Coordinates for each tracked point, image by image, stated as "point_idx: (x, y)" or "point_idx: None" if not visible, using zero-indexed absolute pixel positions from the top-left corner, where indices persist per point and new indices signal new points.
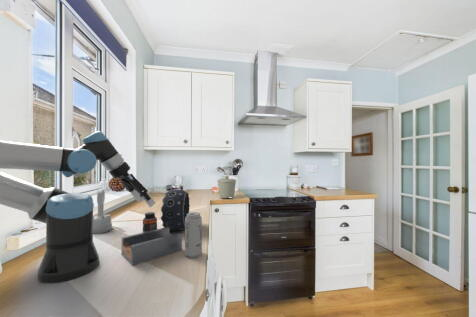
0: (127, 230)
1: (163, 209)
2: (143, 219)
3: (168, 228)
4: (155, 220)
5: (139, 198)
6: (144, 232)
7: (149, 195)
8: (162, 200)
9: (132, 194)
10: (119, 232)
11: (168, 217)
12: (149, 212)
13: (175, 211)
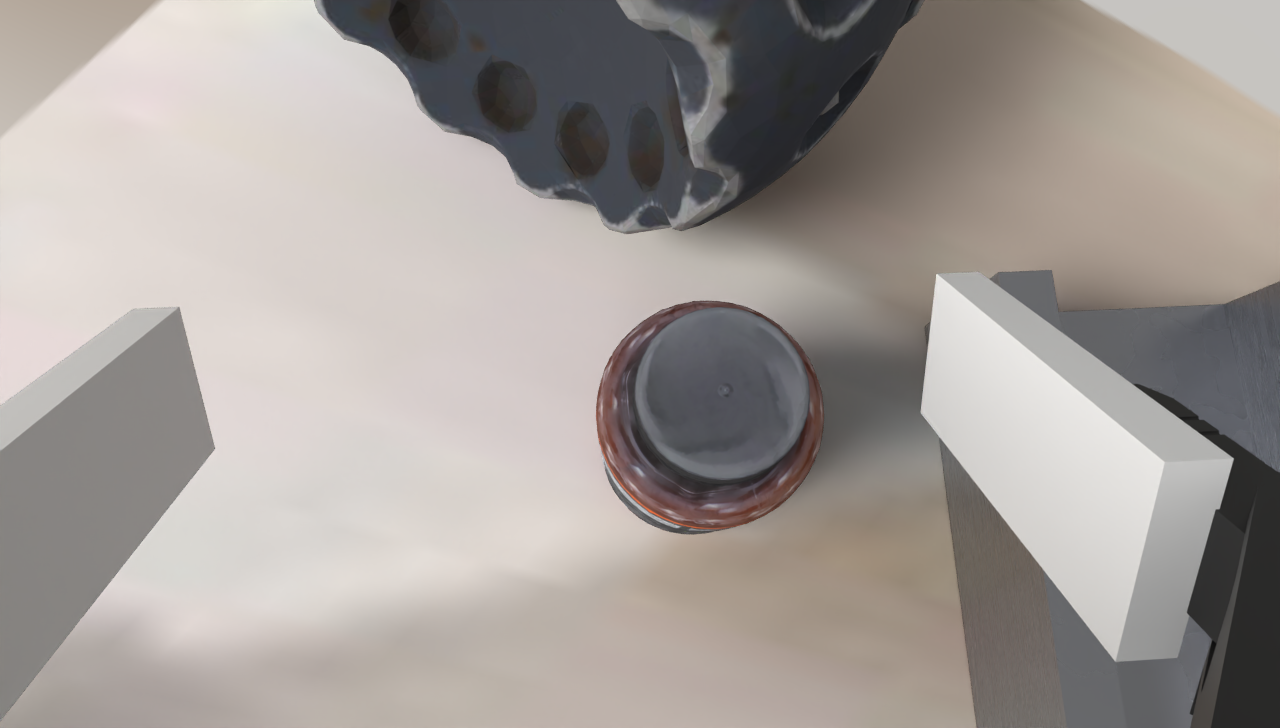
0: (117, 587)
1: (760, 133)
2: (706, 516)
3: (1049, 286)
4: (804, 353)
5: (153, 428)
6: (1064, 619)
7: (1129, 387)
8: (642, 7)
9: (39, 655)
10: (126, 706)
11: (811, 144)
12: (665, 379)
13: (909, 3)
